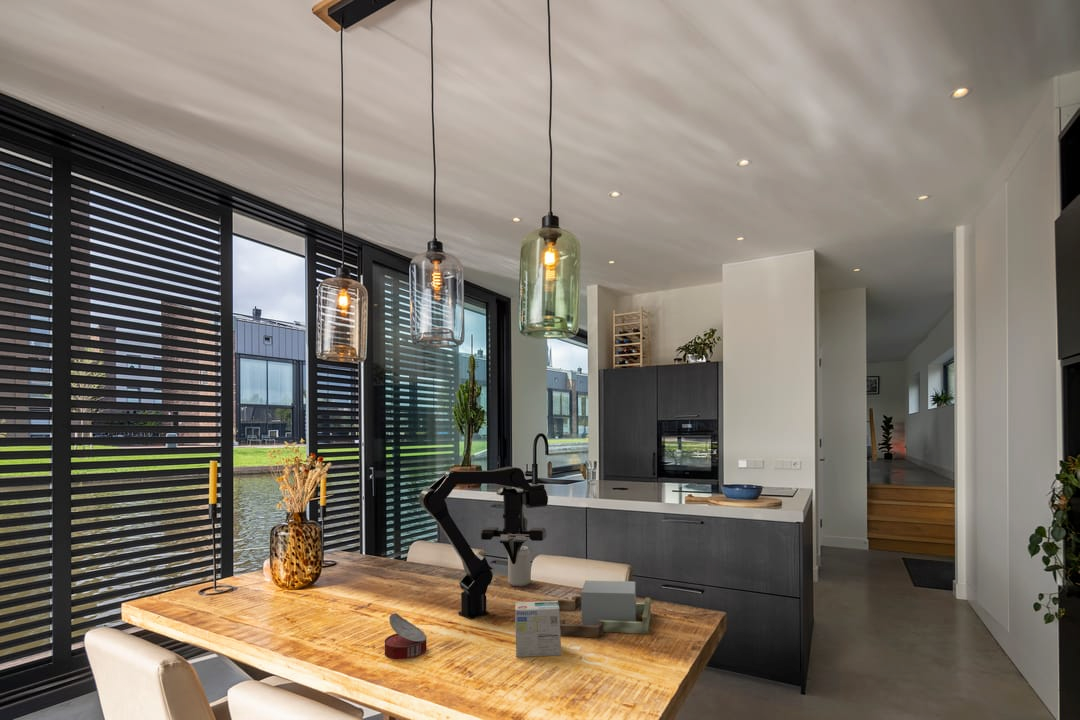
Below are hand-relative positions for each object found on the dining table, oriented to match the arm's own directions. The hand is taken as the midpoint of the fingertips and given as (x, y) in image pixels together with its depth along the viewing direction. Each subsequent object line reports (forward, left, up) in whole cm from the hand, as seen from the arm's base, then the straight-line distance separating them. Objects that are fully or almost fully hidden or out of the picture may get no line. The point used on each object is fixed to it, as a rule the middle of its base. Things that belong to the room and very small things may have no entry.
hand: (514, 563), depth 179 cm
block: (+10, -27, -13) cm, 32 cm away
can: (+18, +19, -13) cm, 29 cm away
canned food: (-40, -7, -13) cm, 43 cm away
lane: (+7, -24, -12) cm, 28 cm away
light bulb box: (-18, -30, -13) cm, 37 cm away
